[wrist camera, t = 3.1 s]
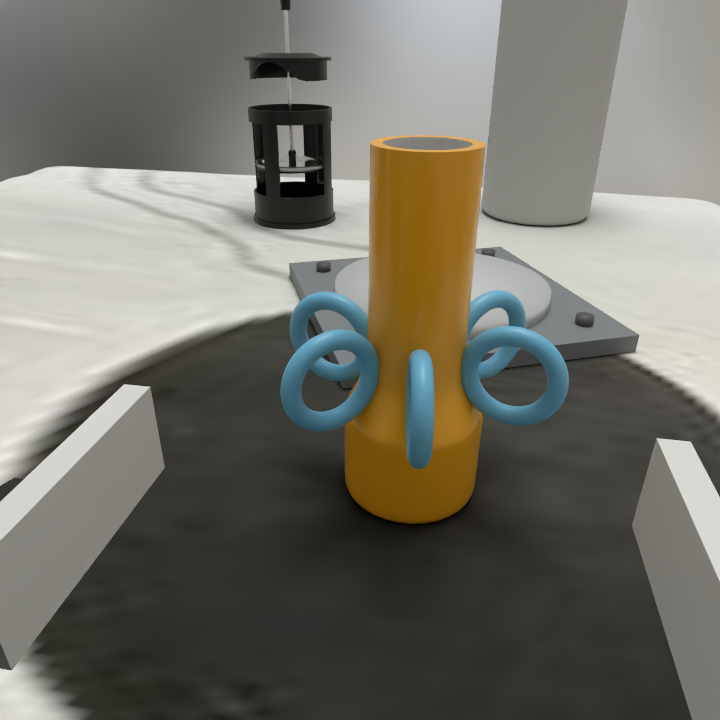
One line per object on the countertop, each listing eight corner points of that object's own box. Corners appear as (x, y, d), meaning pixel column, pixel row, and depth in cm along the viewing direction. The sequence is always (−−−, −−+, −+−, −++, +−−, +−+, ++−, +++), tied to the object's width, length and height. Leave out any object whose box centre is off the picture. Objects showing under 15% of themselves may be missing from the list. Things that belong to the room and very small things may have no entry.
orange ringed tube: (442, 396, 35) (464, 119, 28) (587, 500, 27) (668, 149, 20) (243, 463, 29) (208, 136, 22) (353, 619, 21) (353, 188, 14)
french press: (308, 234, 64) (299, -20, 54) (234, 224, 68) (212, -16, 57) (354, 210, 74) (354, -10, 63) (288, 202, 77) (277, -8, 67)
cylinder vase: (608, 215, 72) (657, -33, 61) (548, 234, 65) (590, -43, 53) (522, 197, 81) (550, -24, 69) (459, 211, 73) (480, -32, 62)
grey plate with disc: (342, 388, 36) (342, 355, 35) (290, 276, 53) (288, 252, 52) (635, 351, 40) (642, 321, 39) (499, 259, 57) (501, 236, 56)
